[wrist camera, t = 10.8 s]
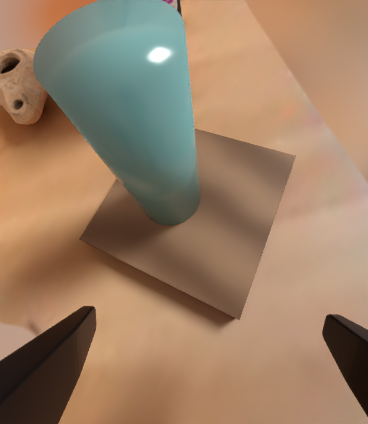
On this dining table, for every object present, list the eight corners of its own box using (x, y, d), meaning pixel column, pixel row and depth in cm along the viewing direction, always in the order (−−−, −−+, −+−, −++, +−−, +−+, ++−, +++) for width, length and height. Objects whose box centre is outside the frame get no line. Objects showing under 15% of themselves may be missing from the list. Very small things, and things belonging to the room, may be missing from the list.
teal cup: (161, 237, 18) (66, 128, 6) (131, 191, 20) (14, 41, 8) (212, 202, 19) (218, 40, 7) (179, 161, 21) (136, -21, 9)
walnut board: (237, 318, 17) (239, 320, 15) (88, 243, 21) (79, 239, 19) (290, 165, 21) (295, 156, 19) (158, 127, 25) (155, 118, 23)
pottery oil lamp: (9, 150, 26) (-67, 101, 21) (38, 111, 34) (-13, 70, 30) (55, 105, 24) (-21, 38, 19) (74, 75, 32) (25, 23, 27)
